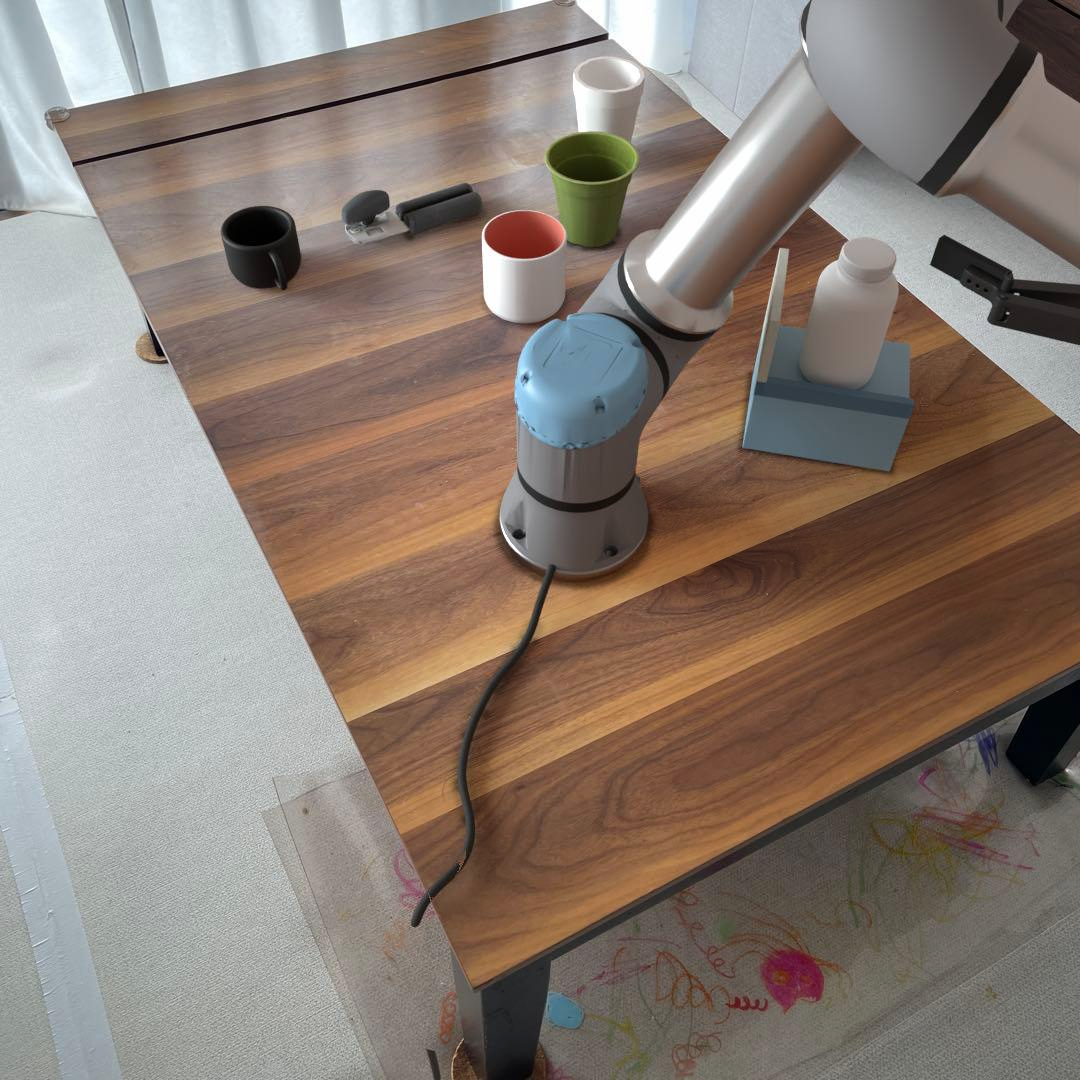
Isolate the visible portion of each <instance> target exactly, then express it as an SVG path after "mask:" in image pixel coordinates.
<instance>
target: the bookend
mask: <svg viewBox="0 0 1080 1080" xmlns="http://www.w3.org/2000/svg"><path fill="white" fill-rule="evenodd" d="M789 255H790V248H786V247H785V248H784V247H779V249H778V254H777V259H776V264H775V269H774V274H773V278H772V282H771V289H770V292H769V297H768V302H767V306H766V311H765V315H764V320H763V325H762V330H761V334H760V340H759V344H758V348H757V349H758V350H757V353H756V354H757V355H756V358H755V363H754V364H755V365H754V368H753V373H752V379H751V384H750V385H751V386H750V391H749V392H750V393H749V399H748V405H747V411H746V418H745V419H746V420H745V427H744V432H743V440H742V446H741V447H742V449H747V450H753V451H760V452H766V453H772V454H777V455H785V456H790V457H791V456H792V457H797V458H803V459H808V460H815V461H821V462H828V463H833V464H839V465H847V466H851V467H857V468H864V469H870V470H876V471H883V472H891V469H892V467H893V463H894V461H895V459H896V455H897V453H898V451H899V447H900V445H901V442H902V439H903V436H904V434H905V431H906V428H907V426H908V423H909V420H910V418H911V416H912V412H913V410H914V407H915V398H914V397H913V398H912V397H910V385H911V384H910V383H911V382H910V380H911V379H910V378H911V377H910V372H911V371H910V370H911V344H910V343H905V342H897V341H892V340H885V339H884V341H883V344H882V347H881V351H880V354H879V357H878V360H877V363H876V366H875V369H874V372H873V374H872V376H871V378H870V380H869V381H868V382H867V383H866V384H865V385H864V386H862V387H861V388H859V389H856V390H854V389H848V388H841V387H835V386H828V385H822V384H815V383H811V382H810V381H808V380H807V379H806V378H805V377H804V375H803V374H802V372H801V370H800V367H799V355H800V350H801V347H802V343H803V339H804V335H805V331H806V328H803V327H796V326H790V325H782V324H781V318H782V309H783V301H784V293H785V285H786V279H787V271H788V264H789Z"/></svg>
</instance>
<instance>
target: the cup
mask: <svg viewBox="0 0 1080 1080" xmlns="http://www.w3.org/2000/svg"><path fill="white" fill-rule="evenodd" d="M481 245H482V246H481V250H482V252H481V253H482V279H483V298H484V301H485V304H486V306H487V307H488V309H489V310H490V311H491V312H492V313H493V314H494V315H495V316H497V317H498V318H500V319H501V320H505V321H507V322H511V323H515V324H534V323H539V322H543V321H545V320H548V319H549V318H551V317H552V316H554V315H555V314H557V312H558V311H559V310H561V307H562V306H563V304H564V302H565V298H566V279H567V277H566V276H567V249H568V248H567V247H568V240H567V232H566V229H565V228H564V226H563V225H562V223H561V220H558V219H557V218H556V217H554V216H552V215H550V214H548V213H545V212H542V211H538V210H532V209H517V210H511V211H507V212H503V213H500V214H498V215H496V216H495V217H493V218H492V219H490V220H489V221H488V222H487V223H486V224H485V226H484V227H483V228H482V232H481Z"/></svg>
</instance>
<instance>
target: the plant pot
mask: <svg viewBox="0 0 1080 1080" xmlns="http://www.w3.org/2000/svg"><path fill="white" fill-rule="evenodd" d="M544 163H545V165H546V167H547V169H548V170H549V172H550V176H551V177H550V178H551V180H552V182H553V185H554V191H555V197H556V201H557V208H558V214H559V219H560V220H559V221H560V222H561V223H562V225H563V226H564V228H565V229H566V232H567V242H569V243H570V244H573V245H580V246H581V247H585V248H598V247H603V246H605V245H608V244H609V243H611V242H612V241H613V240H614V238H615V237H616V236H617V234H618V229H619V225H620V220H621V217H622V212H623V208H624V204H625V200H626V195H627V192H628V188H629V185H630V183H631V180H632V178H633V173H634V172H635V171H636V170H637V168H638V167H639V164H640V154H639V151H638V148H637V147H635V145H634V144H633V143H632V142H631V143H630V142H629V141H627V140H626V139H624V138H622V137H619V136H617V135H614V134H610V133H605V132H597V131H588V132H579V131H578V132H572V133H569V134H567V135H563V136H562V137H559V138H557V139H556V140H554V141H553V142H552V143H551V144H550V145H548V147H547V148H546V150H545V153H544Z"/></svg>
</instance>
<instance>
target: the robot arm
mask: <svg viewBox="0 0 1080 1080" xmlns="http://www.w3.org/2000/svg"><path fill="white" fill-rule="evenodd" d="M1023 1H1024V0H809V1H808V2H807V4H806V5H805V6H804V8H803V9H802V11H801V13H800V15H799V18H798V34H799V39H800V45H801V46H800V47H799V48H798V50H797V51H796V52H795V53H794V55H793V56H792V58H791V59H790V60H789V61H788V63H787V64H786V65H785V67H783V69H782V70H781V72H780V73H779V74H778V76H777V77H776V79H775V80H774V81H773V82H772V83H771V85H769V87H768V89H767V90H766V91H765V93H764V94H763V96H762V97H761V98H760V99H759V101H758V102H757V103H756V105H755V106H754V107H753V108H752V109H751V111H750V113H749V114H748V115H747V116H746V117H745V119H744V120H743V122H742V123H741V124H740V126H739V127H738V128H737V129H736V131H735V132H734V133H733V135H732V136H731V137H730V139H729V140H728V141H727V142H726V143H725V145H724V146H723V148H722V149H721V150H720V152H719V153H718V154H717V155H716V157H715V158H714V160H712V162H711V164H709V166H708V167H707V169H706V170H705V171H704V173H703V174H702V175H701V176H700V177H699V179H698V181H697V182H696V183H695V184H694V185H693V187H692V188H691V190H690V191H689V192H688V193H687V195H686V196H685V197H684V199H683V200H682V201H681V203H680V204H679V205H678V207H677V208H676V209H675V210H674V212H673V213H672V214H671V215H670V217H669V218H668V220H667V221H666V222H665V224H664V225H663V226H662V227H661V228H656V229H650V230H649V229H648V230H646V231H644V232H641V233H640V234H637V235H636V236H635V237H634V238H633V239H632V240H631V241H630V243H629V244H628V245H627V247H626V248H625V249H624V251H623V252H622V254H620V256H619V257H618V259H616V261H614V263H613V264H612V266H611V267H610V269H608V271H607V273H606V274H605V276H604V277H603V279H602V280H601V282H600V283H599V284H598V285H597V286H596V289H594V291H593V292H592V293H591V295H590V296H589V297H588V298H587V300H586V301H585V302H584V303H583V304H582V306H581V307H580V308H579V309H578V310H577V312H575V313H571V314H568V315H567V317H566V320H562V319H560V318H555V319H552V320H550V321H548V322H547V323H546V324H544V325H542V326H541V327H540V328H539V329H537V330H536V331H535V332H534V333H533V334H532V335H531V336H530V338H528V340H527V342H526V343H525V344H524V345H523V348H522V350H521V353H520V355H519V359H518V363H517V367H516V368H517V371H516V376H515V380H514V403H515V422H516V423H515V425H516V426H515V427H516V431H515V433H516V469H515V471H514V473H513V475H512V478H511V479H510V481H509V484H508V486H507V488H506V490H505V492H504V493H503V496H502V499H501V502H500V505H499V506H500V507H499V530H500V535H501V538H502V541H503V544H504V546H505V547H506V549H507V551H508V552H509V554H510V555H511V556H512V557H513V558H514V560H515V561H516V562H518V563H519V564H520V565H521V566H523V567H524V568H525V569H527V570H529V571H531V572H532V573H535V574H536V575H539V576H541V577H543V580H542V583H541V586H540V589H539V591H538V594H537V597H536V600H535V603H534V605H533V609H532V613H531V616H530V620H529V622H528V626H527V629H526V630H525V633H524V635H523V636H522V639H521V641H520V642H519V644H518V646H517V647H516V648H515V649H514V652H513V653H512V654H511V655H510V657H509V658H508V659H507V660H506V662H504V664H503V665H502V666H501V667H500V668H499V670H498V671H497V672H496V673H495V674H494V675H493V677H492V678H491V679H490V681H489V682H488V684H487V685H486V687H485V688H484V691H483V692H482V694H481V696H480V697H479V700H478V702H477V703H476V706H475V708H474V710H473V712H472V714H471V716H470V719H469V721H468V723H467V725H466V729H465V731H464V735H463V738H462V742H461V745H460V750H459V755H458V762H457V770H456V771H457V785H458V791H459V796H460V800H461V805H462V810H463V814H464V820H465V837H464V842H463V847H462V849H461V851H460V854H459V855H458V858H456V860H455V862H456V861H457V860H458V859H459V858H460V856H461V855H462V854H463V853H464V852H465V850H466V858H465V860H464V863H463V865H462V867H461V869H460V871H459V867H460V865H459V863H460V862H458V863H455V862H454V863H453V864H452V865H451V866H450V867H449V868H448V870H446V872H445V873H444V874H442V875H441V876H440V877H439V878H438V879H437V880H436V881H434V883H433V884H432V885H430V887H429V888H428V889H427V890H428V891H427V890H426V891H425V893H424V894H423V895H422V897H421V898H420V900H419V901H418V903H417V905H416V907H415V909H414V911H413V914H412V917H411V920H410V926H411V927H413V928H417V927H419V925H421V923H422V919H423V917H424V915H425V913H426V911H427V909H428V907H429V906H430V904H431V903H432V901H433V900H434V899H435V898H436V896H437V895H438V894H439V893H440V892H441V891H443V889H444V888H445V887H447V886H448V885H449V884H450V883H451V881H453V880H454V879H455V878H456V877H457V875H459V874H460V872H461V871H462V870H463V869H464V867H465V866H466V864H467V862H468V861H469V859H470V857H471V855H472V852H473V850H474V849H473V848H474V844H475V840H476V819H475V813H474V809H473V805H472V804H473V803H472V801H471V796H470V792H469V787H468V779H467V777H468V776H467V771H468V769H467V768H468V761H469V755H470V749H471V746H472V742H473V738H474V735H475V732H476V730H477V728H478V724H479V722H480V720H481V718H482V715H483V713H484V711H485V710H486V707H487V705H488V703H489V702H490V700H491V698H492V696H493V694H494V692H495V691H496V689H497V688H498V686H499V685H500V683H501V682H502V681H503V680H504V678H505V677H506V676H507V675H508V674H509V672H510V671H511V670H512V669H513V668H514V666H515V665H516V664H517V663H518V662H519V660H520V659H521V658H522V656H523V655H524V653H525V652H526V650H527V649H528V647H529V645H530V644H531V642H532V640H533V637H534V635H535V633H536V630H537V627H538V624H539V621H540V617H541V614H542V611H543V608H544V604H545V601H546V599H547V596H548V593H549V590H550V586H551V585H552V581H553V580H554V581H560V582H565V583H567V582H568V583H583V582H584V583H585V582H593V581H596V580H601V579H604V578H607V577H610V576H612V575H614V574H616V573H618V572H620V571H621V570H623V569H624V568H626V567H627V566H628V565H629V564H630V563H631V562H633V561H634V560H635V559H636V558H637V556H638V555H639V553H640V552H641V551H642V549H643V546H644V544H645V541H646V539H647V533H648V527H649V526H648V524H649V509H648V505H647V501H646V498H645V496H644V493H643V490H642V488H641V479H642V478H641V476H639V475H637V474H636V472H637V463H638V455H639V448H640V439H641V436H642V434H643V431H644V429H645V427H646V425H647V424H648V422H649V420H650V419H651V417H652V416H653V415H654V413H655V411H656V410H657V408H658V407H659V406H660V405H661V402H662V401H663V400H664V398H665V397H666V395H667V393H668V391H670V389H671V388H672V386H673V384H674V383H675V382H676V380H678V379H677V378H678V377H679V376H680V374H681V373H682V371H683V370H684V369H685V368H686V366H687V365H688V364H689V362H690V361H691V360H692V359H693V357H695V355H696V354H697V353H698V352H699V351H700V350H701V349H702V347H704V346H705V344H707V342H708V341H710V339H711V338H712V337H713V336H714V335H715V334H716V333H717V332H718V330H719V329H720V328H721V327H722V326H723V325H724V324H725V323H726V322H727V321H728V319H729V317H730V315H731V313H732V310H733V306H734V292H733V290H734V289H735V288H736V287H737V286H738V285H739V284H740V283H741V282H742V280H743V279H745V277H746V276H747V275H748V274H749V273H750V271H752V269H753V268H754V267H755V266H756V265H757V264H758V263H759V262H760V261H761V260H762V259H763V258H764V256H765V255H766V254H767V253H768V252H769V251H770V250H771V249H772V248H773V246H775V244H776V243H777V242H779V240H780V239H781V238H782V237H783V235H785V233H786V232H788V230H789V229H790V228H791V227H792V226H793V225H794V223H795V222H796V221H798V219H799V218H800V217H801V216H802V215H803V214H804V213H805V211H807V210H808V209H809V207H810V206H811V205H812V204H813V203H814V201H815V200H816V199H817V198H818V197H820V195H821V194H822V193H823V192H824V191H825V190H826V188H827V187H828V186H829V185H830V184H831V183H832V182H833V181H834V180H835V178H836V177H837V176H838V175H840V173H841V172H842V171H843V170H844V169H845V167H846V166H848V164H849V163H850V162H852V160H853V159H854V158H855V157H856V155H857V154H859V152H860V151H861V150H862V149H864V147H865V148H866V149H868V150H869V151H870V152H871V153H872V154H874V155H875V156H876V157H878V158H879V159H880V160H881V161H882V162H883V163H885V164H886V165H887V166H888V167H889V168H891V169H892V170H894V171H895V172H897V173H898V174H900V175H901V176H902V177H904V178H905V180H908V181H910V182H911V183H913V184H914V185H916V186H918V188H920V189H922V190H923V191H925V192H926V193H928V194H930V195H931V196H933V197H935V198H937V199H940V198H944V197H945V198H946V197H949V196H955V195H959V194H960V195H963V196H965V197H967V198H969V199H970V200H971V201H973V202H975V203H977V204H978V205H980V206H981V207H982V208H984V209H985V210H987V211H988V212H990V213H992V214H994V215H995V216H996V217H998V218H1000V219H1001V220H1002V221H1004V222H1006V223H1007V224H1009V225H1010V226H1012V227H1013V228H1015V229H1017V230H1018V231H1019V232H1021V233H1023V235H1025V236H1027V237H1029V239H1032V240H1033V241H1035V242H1037V243H1038V244H1039V245H1041V246H1042V247H1044V248H1046V249H1047V250H1049V251H1050V252H1052V253H1054V254H1055V255H1057V257H1059V258H1061V259H1062V260H1063V261H1065V262H1067V263H1068V264H1070V265H1072V266H1073V267H1075V268H1076V269H1078V270H1080V102H1078V101H1077V100H1076V99H1074V98H1073V97H1071V96H1069V95H1068V94H1066V93H1065V92H1064V91H1061V90H1060V89H1059V88H1057V87H1056V86H1054V85H1053V84H1052V83H1050V82H1048V80H1047V78H1046V75H1045V69H1044V68H1045V67H1044V58H1043V54H1042V53H1040V52H1039V51H1037V50H1036V49H1034V48H1033V47H1031V46H1030V45H1028V44H1026V43H1025V42H1024V41H1022V40H1020V39H1018V38H1017V37H1015V35H1014V34H1013V33H1011V32H1010V31H1009V30H1008V29H1007V25H1008V24H1009V21H1010V20H1011V18H1012V16H1013V15H1014V13H1015V11H1016V9H1017V8H1018V6H1019V5H1020V4H1021V3H1022V2H1023ZM929 266H931V267H932V268H934V269H936V270H937V271H940V272H941V273H943V274H945V275H947V276H948V277H951V278H952V279H954V280H956V281H957V282H959V284H960V285H961V286H962V287H963V288H965V289H967V290H969V291H971V292H973V293H974V294H976V295H978V296H980V297H982V298H983V299H985V300H987V301H988V302H989V303H990V304H991V308H990V311H989V313H988V316H987V317H986V321H987V322H988V324H990V325H992V326H995V327H999V328H1004V329H1007V330H1011V331H1017V332H1021V333H1024V334H1029V335H1033V336H1037V337H1041V338H1046V339H1051V340H1055V341H1059V342H1063V343H1067V344H1071V345H1076V346H1080V284H1078V283H1066V282H1054V281H1044V280H1043V281H1042V280H1031V279H1030V280H1029V279H1018V278H1015V277H1014V273H1013V270H1012V269H1010V268H1008V267H1006V266H1004V265H1003V264H1000V263H999V262H998V261H995V260H993V259H991V258H989V257H987V256H985V255H984V254H982V253H980V252H978V251H976V250H974V249H972V248H970V247H968V246H966V245H965V244H963V243H961V242H959V241H957V240H955V239H954V238H952V237H949V236H948V235H946V234H943V235H941V236H940V237H939V238H938V239H937V242H936V245H935V248H934V252H933V254H932V258H931V260H930V263H929ZM455 864H456V865H455ZM457 871H459V872H458V873H457ZM456 874H457V875H456ZM455 875H456V876H455ZM428 893H429V895H430V897H431V900H432V901H430V898H429V895H428ZM432 897H433V898H434V899H432ZM425 1051H426V1054H427V1058H428V1061H429V1065H430V1068H431V1073H432V1078H433V1080H441V1079H442V1076H441V1075H442V1074H441V1070H440V1066H439V1060H438V1058H437V1053H436V1050H432V1049H428V1048H425Z"/></svg>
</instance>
